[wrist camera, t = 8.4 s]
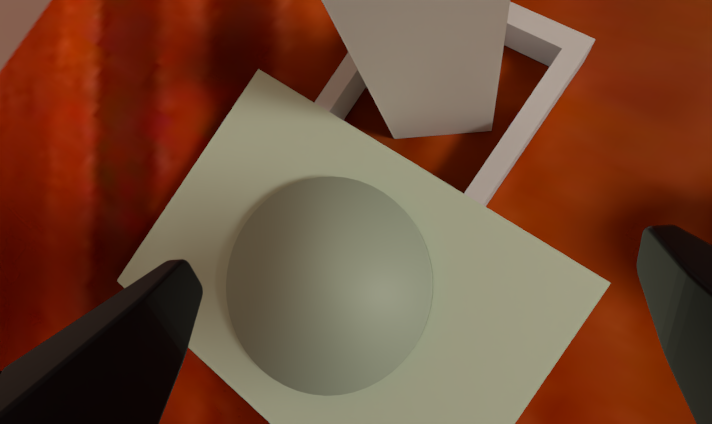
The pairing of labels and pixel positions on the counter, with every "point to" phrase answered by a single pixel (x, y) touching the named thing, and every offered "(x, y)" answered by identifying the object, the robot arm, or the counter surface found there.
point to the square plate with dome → (370, 261)
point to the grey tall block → (427, 60)
